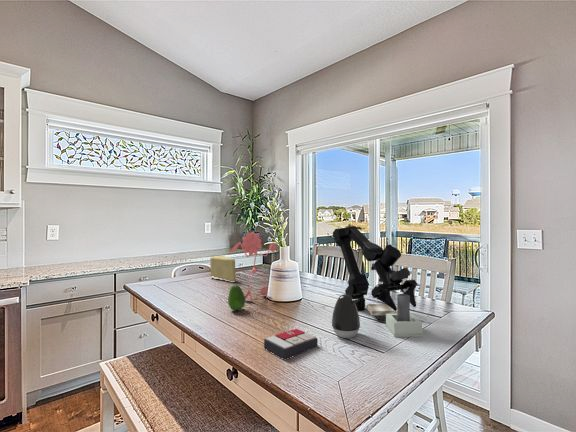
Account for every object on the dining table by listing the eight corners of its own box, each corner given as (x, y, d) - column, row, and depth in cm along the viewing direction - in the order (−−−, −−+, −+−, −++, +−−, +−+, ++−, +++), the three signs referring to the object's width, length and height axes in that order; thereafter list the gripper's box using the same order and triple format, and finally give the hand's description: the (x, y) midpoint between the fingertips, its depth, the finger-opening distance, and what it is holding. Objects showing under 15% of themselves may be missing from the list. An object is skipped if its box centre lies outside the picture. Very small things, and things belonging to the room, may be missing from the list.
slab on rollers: (372, 321, 131) (372, 311, 131) (366, 313, 140) (366, 304, 140) (406, 320, 131) (406, 310, 131) (399, 313, 140) (399, 303, 140)
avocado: (224, 311, 148) (224, 285, 147) (238, 306, 153) (237, 281, 153) (235, 314, 142) (234, 288, 142) (249, 310, 148) (248, 284, 148)
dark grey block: (396, 329, 119) (396, 296, 118) (397, 325, 123) (397, 293, 122) (409, 331, 118) (409, 298, 117) (409, 326, 122) (410, 294, 121)
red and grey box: (318, 336, 109) (284, 347, 100) (318, 348, 110) (284, 361, 100) (296, 327, 118) (263, 336, 108) (296, 339, 118) (263, 349, 108)
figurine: (281, 295, 170) (278, 230, 169) (238, 306, 154) (235, 233, 153) (265, 290, 182) (262, 229, 181) (223, 300, 166) (221, 232, 165)
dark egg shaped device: (354, 343, 110) (354, 300, 110) (327, 337, 116) (326, 296, 115) (364, 333, 119) (364, 292, 119) (338, 328, 125) (337, 289, 124)
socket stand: (394, 336, 115) (394, 323, 115) (386, 326, 125) (385, 313, 125) (422, 336, 115) (422, 322, 115) (411, 325, 125) (411, 313, 125)
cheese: (241, 281, 204) (240, 258, 203) (228, 284, 197) (227, 260, 197) (223, 276, 220) (222, 254, 219) (210, 279, 213) (209, 256, 213)
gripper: (375, 263, 119) (397, 300, 110) (413, 259, 127) (437, 293, 117) (363, 280, 127) (381, 316, 117) (399, 275, 134) (420, 308, 125)
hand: (405, 308), depth 119 cm, fingers open, 9 cm apart
